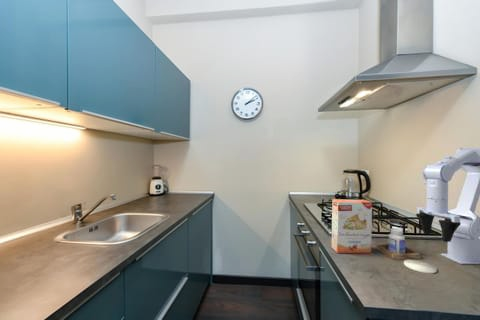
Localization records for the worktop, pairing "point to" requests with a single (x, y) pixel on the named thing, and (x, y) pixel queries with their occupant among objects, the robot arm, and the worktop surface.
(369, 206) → the cracker box
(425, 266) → the white disc
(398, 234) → the pill bottle
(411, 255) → the socket block
